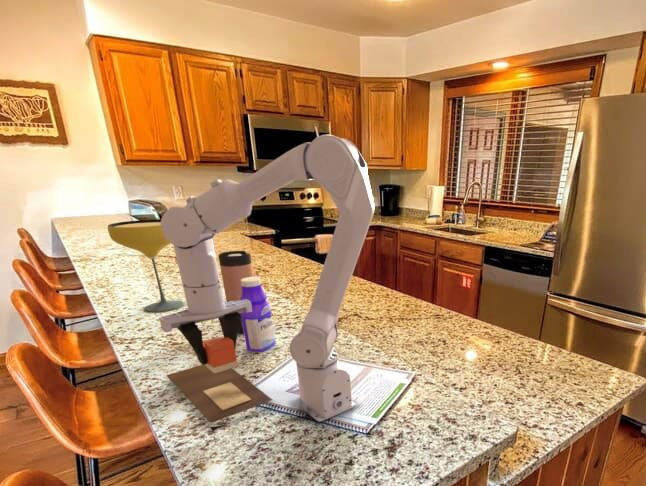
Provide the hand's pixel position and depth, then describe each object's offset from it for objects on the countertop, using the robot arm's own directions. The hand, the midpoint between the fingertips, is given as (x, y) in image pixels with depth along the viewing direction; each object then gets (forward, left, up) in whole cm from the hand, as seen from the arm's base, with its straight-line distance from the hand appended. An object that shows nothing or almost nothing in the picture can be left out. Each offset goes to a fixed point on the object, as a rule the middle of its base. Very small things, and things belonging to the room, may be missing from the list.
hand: (217, 358), depth 76 cm
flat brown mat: (+4, 0, -9) cm, 10 cm away
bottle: (+17, -15, -9) cm, 25 cm away
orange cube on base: (0, 0, -1) cm, 1 cm away
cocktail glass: (+71, -9, -9) cm, 72 cm away
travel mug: (+34, -19, -9) cm, 40 cm away
